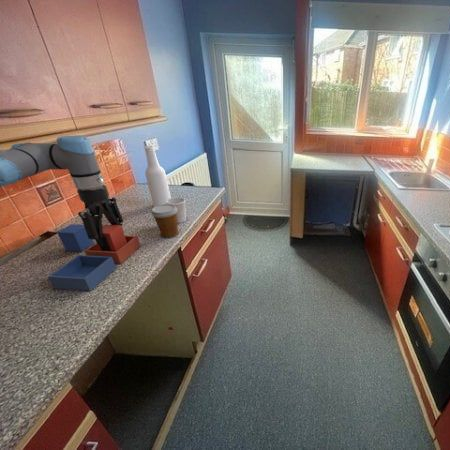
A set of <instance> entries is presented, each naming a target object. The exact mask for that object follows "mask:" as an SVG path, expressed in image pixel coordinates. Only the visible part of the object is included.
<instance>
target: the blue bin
mask: <svg viewBox="0 0 450 450" xmlns="http://www.w3.org/2000/svg"><path fill="white" fill-rule="evenodd" d="M116 269H117V266H116V263H114V261H113V258H112V257H106V256H89V255H86V254H78V255H77V256H75V257H74V258H72V259H71V260H69V261H68V262H67V263H65V264H64V265H62V266H61V267H59V268H58V269H57V270H55V271H54V272H52V273H51V274H49V275H48V276H47V279H48V280H49V283H50V284H51V286H52V287H53V289H55V290H68V291H69V290H73V291H89V292H91V291H92V290H93V289H94V288H95V287H96V286H98V285H99V284H101V282H102V281H103V280H104V279H105V278H106V277H108V276H109V275H110V274H111V273H112V272H113V271H115V270H116Z"/></svg>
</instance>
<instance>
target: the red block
mask: <svg viewBox="0 0 450 450" xmlns="http://www.w3.org/2000/svg"><path fill="white" fill-rule="evenodd" d="M102 228H103V236H105V237H106V238H107V241H108V244H109V246H110V249H111V251H112V252H117V251H118V250H119V249H120V248H122V247H123V246H124V245H125V244H127V240H126V238H125V236H126V235H125V232H124V229H123V225H122V226H121V225H111V224H102ZM96 243H97V241H96V240H95V244H96ZM97 246H98V243H97ZM98 248H99V250H100V251H102V250H101V247H99V246H98Z"/></svg>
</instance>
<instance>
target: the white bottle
mask: <svg viewBox="0 0 450 450" xmlns="http://www.w3.org/2000/svg"><path fill="white" fill-rule="evenodd" d="M144 151H145V155H146V161H147V167H146V169H145V170H144V172H145V173H144V175H145V179H146V182H147V187H148V190H149V194H150V198H151V201H152V206H153V208H154V207H155V206H158V205H162V204H166V203H165V201H166V200H168V199H170V198H172V196H171V191H170V188H169V187H170V186H169V183H168V178H167V173H166V171H165V169H164V168H163V167H162V166H161V165H160V163H159V160H158V156H157V154H156V150H155V146H152V145H146V146H144Z"/></svg>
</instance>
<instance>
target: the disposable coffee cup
mask: <svg viewBox="0 0 450 450" xmlns="http://www.w3.org/2000/svg"><path fill="white" fill-rule="evenodd" d="M177 210H178V209H177V208H176V206H175V205H173V204H162V205H158V206H155V207H154V206H153V207H152V208H151V212H150V214H151V215H152V217H153V219H154V221H155V223H156V226H157V228H158V230H159V232H160V234H161V237H162V238H173V237H176V236H177V235H178V234H179V226H178V224H179V223H177Z"/></svg>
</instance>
